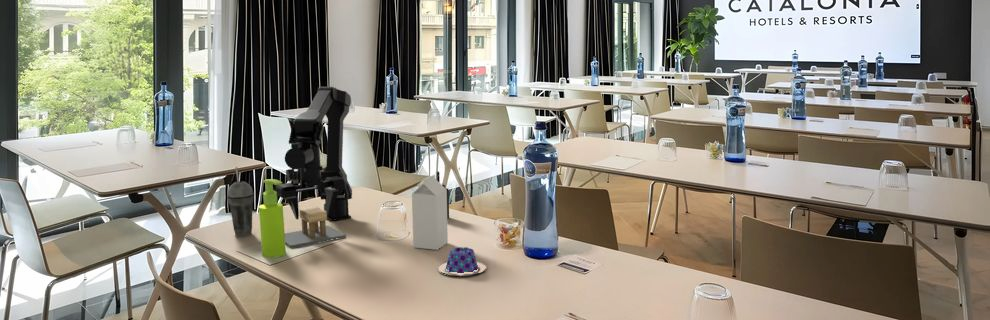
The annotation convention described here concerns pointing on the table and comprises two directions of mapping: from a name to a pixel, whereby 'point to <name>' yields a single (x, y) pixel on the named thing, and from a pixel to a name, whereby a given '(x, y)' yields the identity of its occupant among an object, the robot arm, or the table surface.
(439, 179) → the walkie-talkie
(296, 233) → the grey rectangular board
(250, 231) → the beverage cup
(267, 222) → the soap dispenser
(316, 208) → the oak stool
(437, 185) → the milk carton
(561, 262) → the table surface
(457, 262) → the pudding
